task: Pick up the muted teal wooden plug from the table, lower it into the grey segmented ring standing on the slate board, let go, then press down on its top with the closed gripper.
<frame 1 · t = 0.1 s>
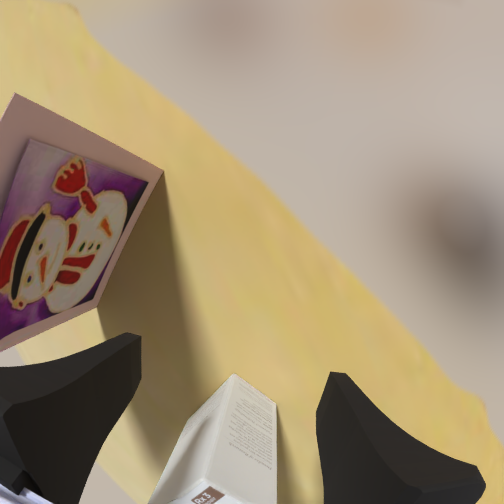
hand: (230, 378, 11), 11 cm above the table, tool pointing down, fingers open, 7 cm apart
skincare box: (231, 407, 23), on the table
greeting card: (98, 223, 22), on the table
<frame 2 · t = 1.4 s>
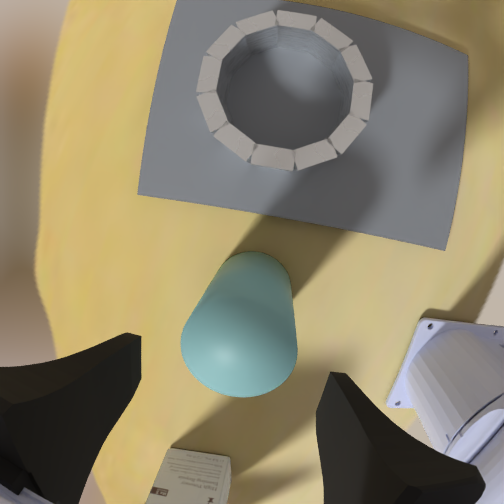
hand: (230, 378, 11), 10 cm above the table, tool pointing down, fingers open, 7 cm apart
skincare box: (199, 463, 26), on the table
grey segmented ring: (284, 101, 18), resting on board
board: (316, 107, 18), on the table
plug: (252, 289, 21), on the table
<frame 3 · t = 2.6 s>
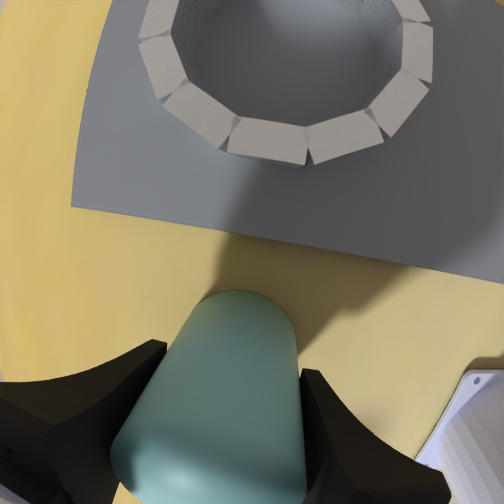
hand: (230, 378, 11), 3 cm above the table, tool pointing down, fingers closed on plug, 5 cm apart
grey segmented ring: (286, 62, 11), resting on board
board: (336, 72, 11), on the table
plug: (239, 342, 14), on the table, touching gripper
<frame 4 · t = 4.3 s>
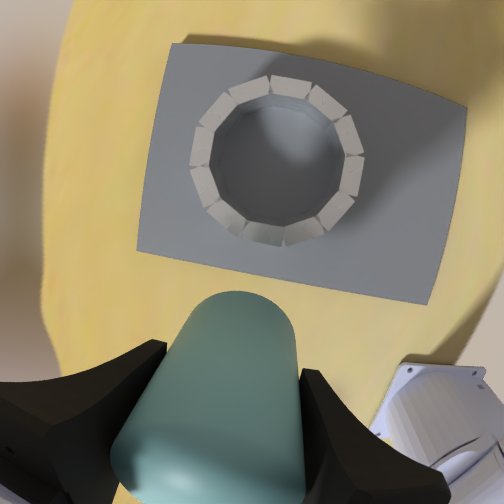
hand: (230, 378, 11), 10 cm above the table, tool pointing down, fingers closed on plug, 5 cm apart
grey segmented ring: (277, 162, 20), resting on board
board: (309, 169, 19), on the table
plug: (238, 343, 14), point 8 cm above the table, touching gripper
when the fingers open (5 cm above the table, at t = 6.2 s): plug drops 2 cm, resting on board.
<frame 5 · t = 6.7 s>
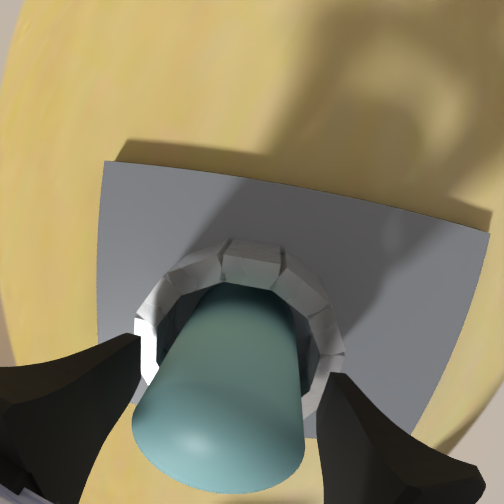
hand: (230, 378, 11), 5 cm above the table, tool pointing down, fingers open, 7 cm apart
grey segmented ring: (244, 318, 17), resting on board
board: (283, 325, 16), on the table
plug: (243, 328, 16), point 1 cm above the table, touching board
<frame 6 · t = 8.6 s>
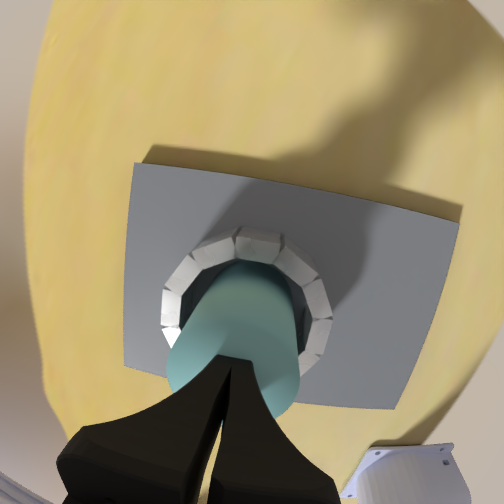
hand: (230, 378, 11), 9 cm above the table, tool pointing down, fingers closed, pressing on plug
grey segmented ring: (250, 294, 20), resting on board
board: (282, 300, 20), on the table
plug: (249, 301, 19), point 1 cm above the table, touching board, gripper
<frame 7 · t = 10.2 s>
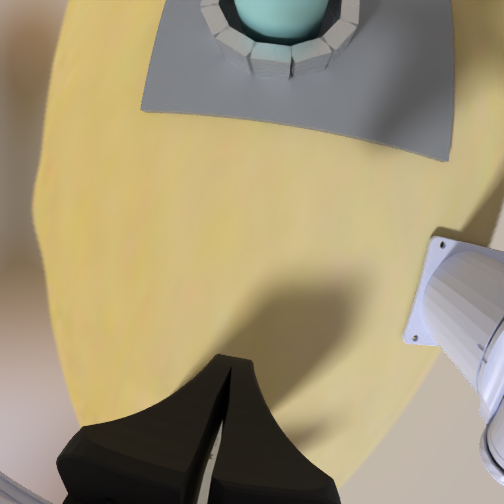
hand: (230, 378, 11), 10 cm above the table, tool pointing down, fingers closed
skincare box: (198, 422, 25), on the table
grey segmented ring: (281, 26, 17), resting on board
board: (311, 31, 17), on the table
plug: (281, 20, 16), point 1 cm above the table, touching board
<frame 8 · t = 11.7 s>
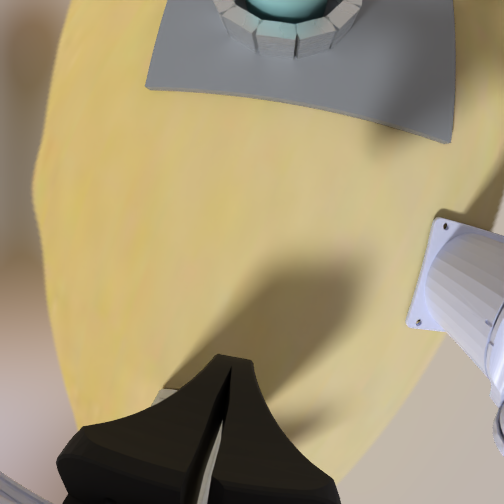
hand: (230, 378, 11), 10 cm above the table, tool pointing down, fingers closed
skincare box: (195, 409, 25), on the table
grey segmented ring: (285, 10, 17), resting on board
board: (315, 14, 17), on the table
plug: (286, 3, 16), point 1 cm above the table, touching board
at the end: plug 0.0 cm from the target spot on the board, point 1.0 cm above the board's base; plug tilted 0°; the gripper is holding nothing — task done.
